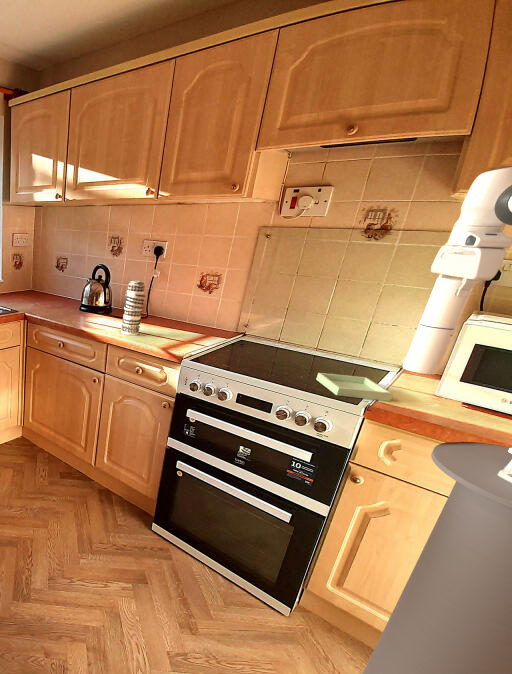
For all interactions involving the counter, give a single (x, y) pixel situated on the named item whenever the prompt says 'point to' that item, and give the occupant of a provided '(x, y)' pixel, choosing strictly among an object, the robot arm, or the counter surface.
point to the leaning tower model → (133, 307)
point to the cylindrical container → (436, 327)
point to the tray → (353, 386)
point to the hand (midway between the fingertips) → (450, 294)
